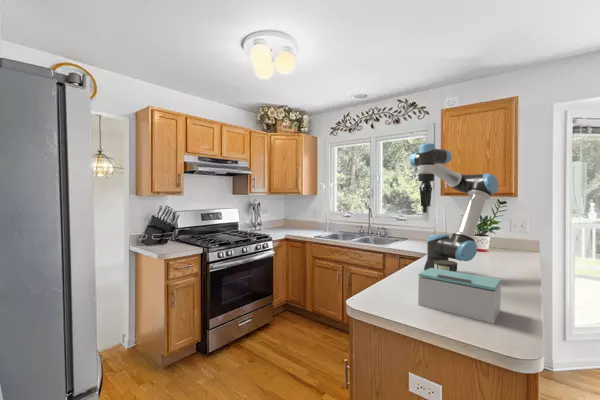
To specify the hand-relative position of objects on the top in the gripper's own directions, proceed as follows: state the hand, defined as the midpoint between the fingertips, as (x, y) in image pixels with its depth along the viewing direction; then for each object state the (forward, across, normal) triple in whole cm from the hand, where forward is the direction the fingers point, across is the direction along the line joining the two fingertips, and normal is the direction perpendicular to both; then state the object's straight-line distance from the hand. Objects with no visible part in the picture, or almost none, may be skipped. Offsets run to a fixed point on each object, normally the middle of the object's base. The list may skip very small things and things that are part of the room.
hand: (425, 218), depth 152 cm
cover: (+22, +24, +22) cm, 39 cm away
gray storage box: (+34, +24, +22) cm, 47 cm away
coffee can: (+35, +3, +11) cm, 36 cm away
